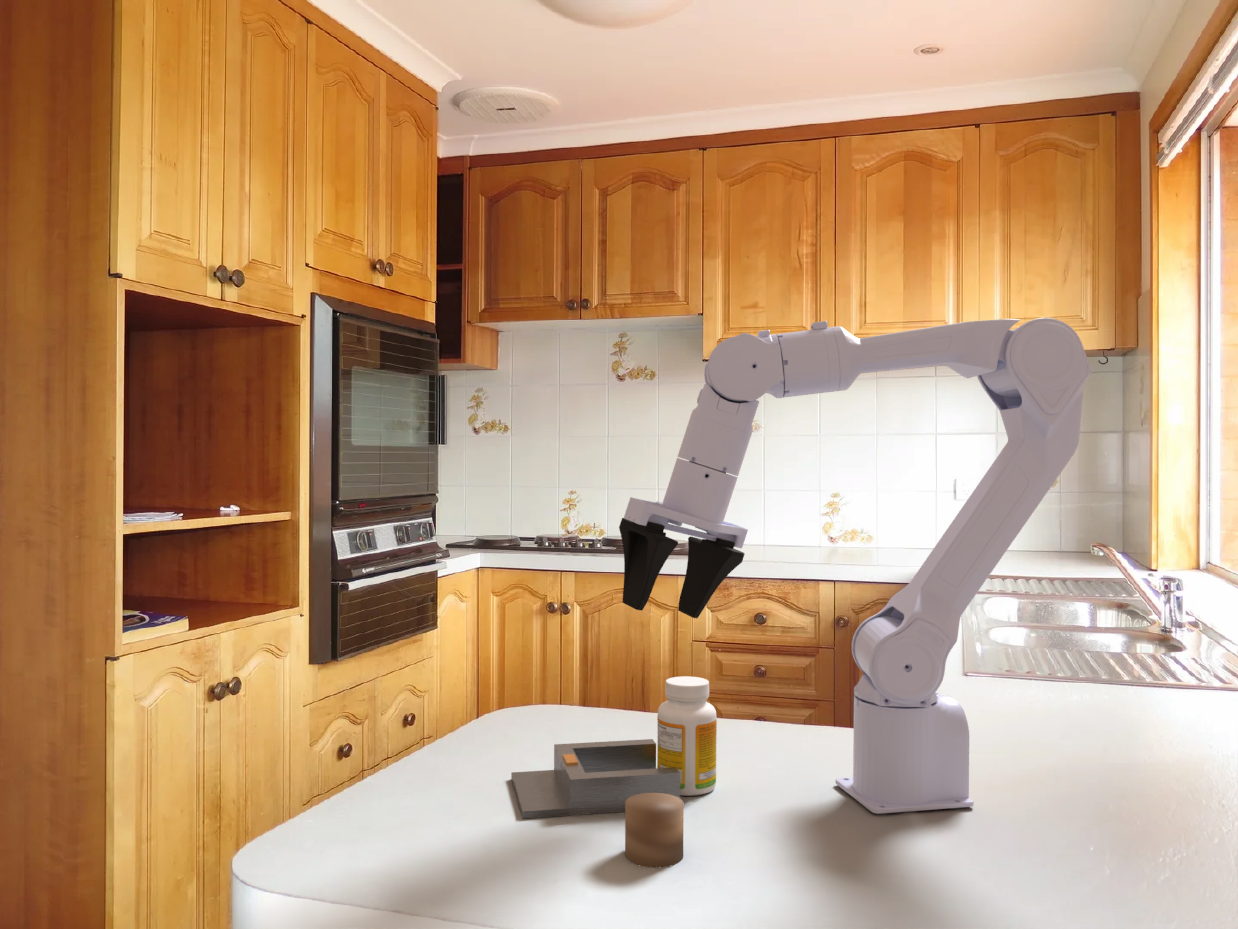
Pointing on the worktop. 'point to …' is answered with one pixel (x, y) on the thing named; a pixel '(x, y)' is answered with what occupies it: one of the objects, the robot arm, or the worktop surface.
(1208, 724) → the worktop surface
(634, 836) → the knob
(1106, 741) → the worktop surface
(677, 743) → the supplement bottle
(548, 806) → the socket
